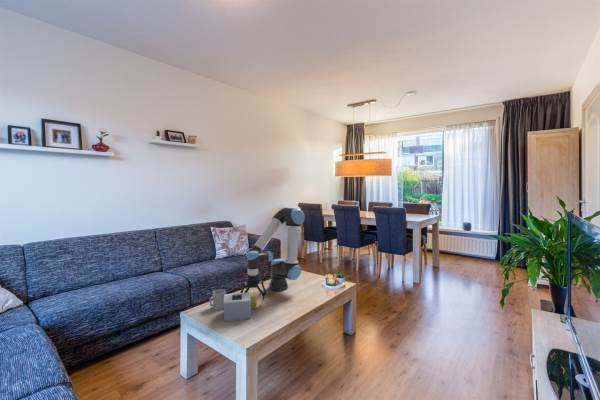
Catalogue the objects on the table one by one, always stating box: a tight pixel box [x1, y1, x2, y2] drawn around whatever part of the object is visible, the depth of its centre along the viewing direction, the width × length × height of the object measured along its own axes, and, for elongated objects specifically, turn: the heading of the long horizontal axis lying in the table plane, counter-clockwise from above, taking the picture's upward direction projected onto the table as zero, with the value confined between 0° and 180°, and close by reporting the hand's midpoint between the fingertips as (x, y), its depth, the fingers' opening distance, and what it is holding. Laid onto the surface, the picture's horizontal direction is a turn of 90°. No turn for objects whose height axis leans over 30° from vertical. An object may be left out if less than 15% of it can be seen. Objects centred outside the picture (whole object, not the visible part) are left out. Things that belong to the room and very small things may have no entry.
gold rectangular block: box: [249, 292, 258, 309], centre depth 201 cm, size 4×6×8 cm, turn 13°
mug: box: [209, 288, 227, 311], centre depth 197 cm, size 12×8×11 cm
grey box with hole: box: [223, 291, 252, 322], centre depth 186 cm, size 16×13×12 cm
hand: (253, 305), depth 201 cm, fingers open, 11 cm apart
